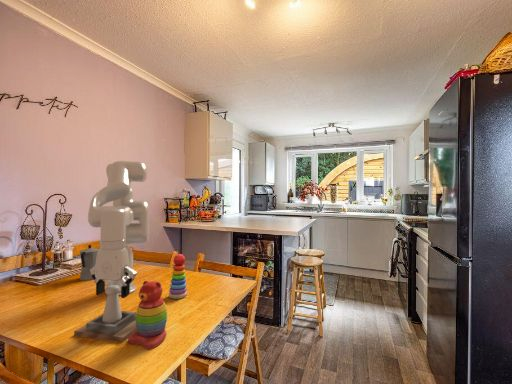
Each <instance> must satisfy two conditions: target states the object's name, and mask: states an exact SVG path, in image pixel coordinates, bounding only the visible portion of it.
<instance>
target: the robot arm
mask: <svg viewBox="0 0 512 384" xmlns="http://www.w3.org/2000/svg"><path fill="white" fill-rule="evenodd" d="M105 171H106V172H105V173H106V176H107V184H106V185H105V186H104V187H103V188H102V189H100V190H99V191H98V192H96V193H95V194H94V195H93V197H92V198H91V200H90V203H89V208H88V213H87V214H88V215H87V220H88V221H87V222H88V223H89V226H91V227H93V228H100V234H99V235H100V237H99V238H100V239H99V241H98V244H99V246H100V247H99V248H97V249H98V253H97V257H96V264H95V267H93V268H91V269H90V272H91V274H92V278H93V279H94V280H93V282H94V283H95V295H96V296H100V295H102V294H104V293H105V289H106V287H108V286H111V285H118V286H119V287H120V291H119V293H118V296H120V298H121V299H125V298H126V297H128V296H130V294H131V293H134V292H135V291H136V290H137V286H136V285H135V284H133V283H134V280H135V278H136V276H137V274H138V273H137V271H136V270H134V266H133V265H134V253H133V250H132V248H131V247H130V246H129V244H143V243H147V242H148V241H149V238H150V207H149V204H148V202H147V201H144V200H134V197H133V196H134V194H133V193H134V192H133V191H134V190H133V189H132V187H131V186H132V182H135V183H137V182H138V183H144V182H146V180H147V177H148V167H147V165H146V163H144V162H141V161H129V160H118V161H114V162H113V163H109V164H107V166H106V168H105ZM110 202H112V205H106V204H108V203H110ZM104 205H105V206H104ZM133 221H138V222H135V223H132V222H133Z"/></svg>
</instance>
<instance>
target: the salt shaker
mask: <svg viewBox="0 0 512 384" xmlns="http://www.w3.org/2000/svg"><path fill="white" fill-rule="evenodd" d="M119 291H120V287H119V286H118V285H111V286H106V287H105V292H104V293H105V294H106V300H105V305H104V310H103V313H102V314H103V318H102V321H103V323H105V324H116V323H117V322H119V321H120V320H121V318H122V314H121V311H122V308H121V304H120V298H119V295H118V293H119Z"/></svg>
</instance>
